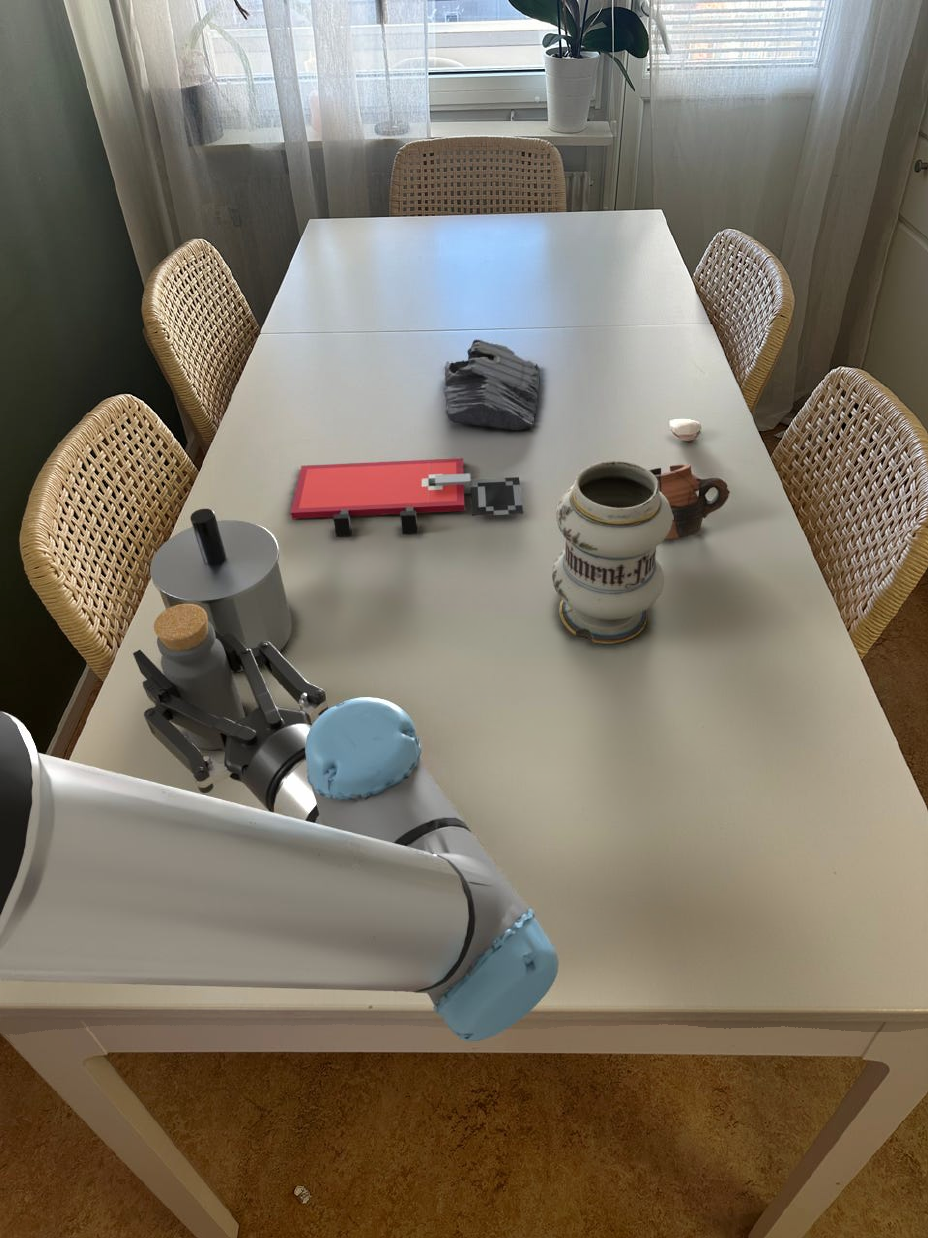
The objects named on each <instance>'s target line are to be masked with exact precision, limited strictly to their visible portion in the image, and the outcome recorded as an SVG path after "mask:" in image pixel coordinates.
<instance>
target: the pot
mask: <svg viewBox="0 0 928 1238" xmlns="http://www.w3.org/2000/svg"><path fill="white" fill-rule="evenodd" d="M159 594H160V597H161V599H162V603H163V605H164V608H165V610H166V609H168V608H170V607H173V606H176V605H180V604H192V603H185V602H180V601H177V600H174V599H171V598H169V597H167V596H165V595H164V594H162V593H161V592H160V591H159ZM194 605H198V606H200V607H201V608H203V609H204V610H205V612H206V614H207V621H208V622H210V623H211V625H212V626H213V629H214V630H215V631H216V632H217V633H218V634H220V635H221V636H224V635H226V634H227V633H229V634H232V635H234V636H235V637H236V638H237V639H238V640H239V641H240V642H241V643H242V644H243V645H244V646H245V647H249V648H256V647H258V645H259V643H261V642H263V641H268V642H270V643H271V644H272V645H273V646H274V647H275V648H276V650H277V651H278V652H279V653H281V651H282V650H283V649H284V648H285V646H286V645H287V644H288V642H289V640H290V638H291V634H292V630H293V629H292V628H293V622H292V619H291V612H290V608H289V603H288V600H287V595H286V591H285V587H284V582H283V578H282V573H281V569H280V564H279V562H278V563H277V565H276V567H275V569H274V571H273V572H272V573H271V575H270V576H269V577H268V578H267V579H266V580H265V581H264V582H263V583H261V584H260V585H259V586H257V587H256V588H254V589H253V590H251V591H249V592H247V593H245V594H243V595H241V596H238V597H236V598H233V599H230V600H226V601H222V602H216V603H208V604H194ZM231 672H232V674H235V673H234V672H233V671H232V670H231ZM240 672H241V673H242V672H244V671H243V667H241V670H239V671H237V672H236V673H240Z"/></svg>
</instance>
